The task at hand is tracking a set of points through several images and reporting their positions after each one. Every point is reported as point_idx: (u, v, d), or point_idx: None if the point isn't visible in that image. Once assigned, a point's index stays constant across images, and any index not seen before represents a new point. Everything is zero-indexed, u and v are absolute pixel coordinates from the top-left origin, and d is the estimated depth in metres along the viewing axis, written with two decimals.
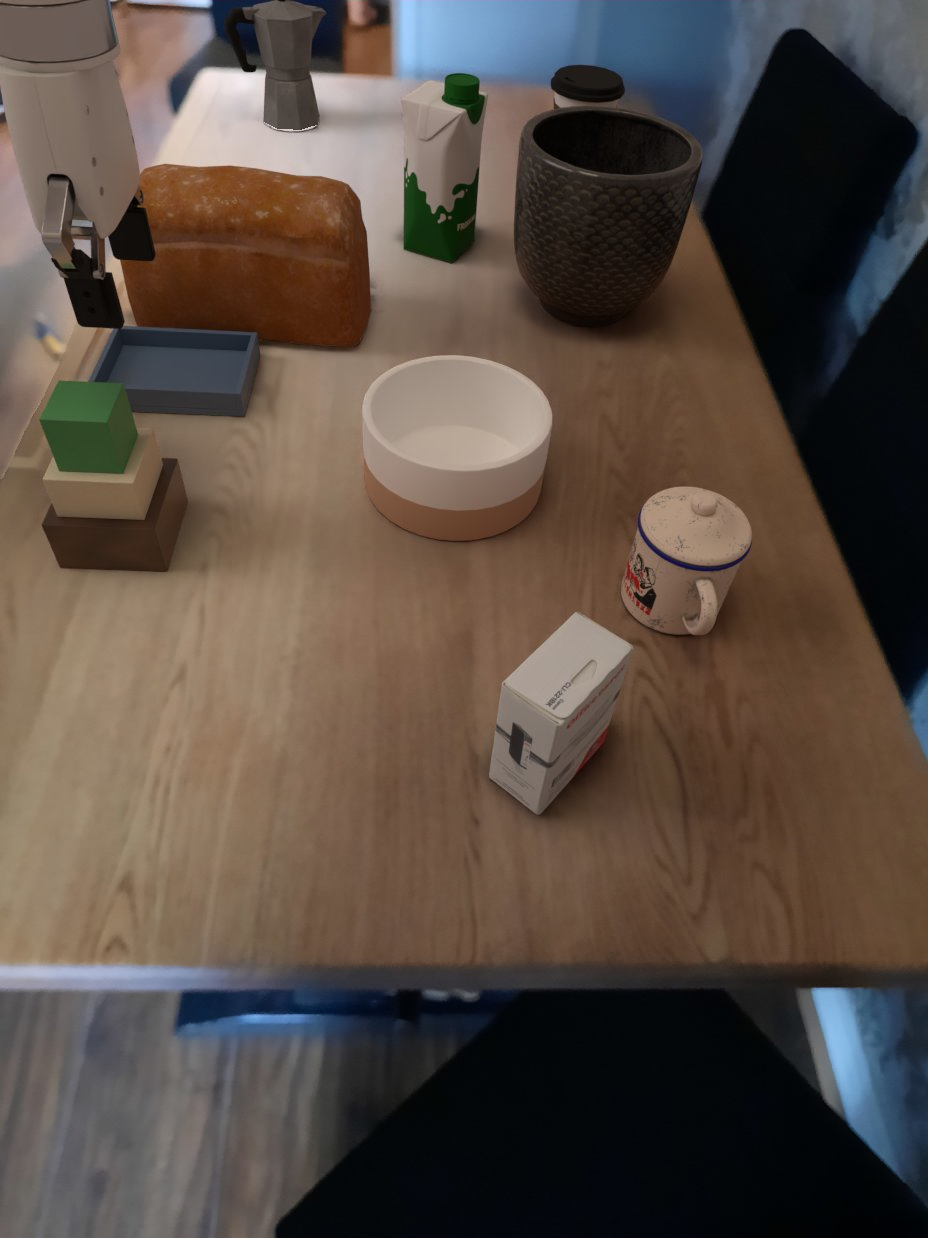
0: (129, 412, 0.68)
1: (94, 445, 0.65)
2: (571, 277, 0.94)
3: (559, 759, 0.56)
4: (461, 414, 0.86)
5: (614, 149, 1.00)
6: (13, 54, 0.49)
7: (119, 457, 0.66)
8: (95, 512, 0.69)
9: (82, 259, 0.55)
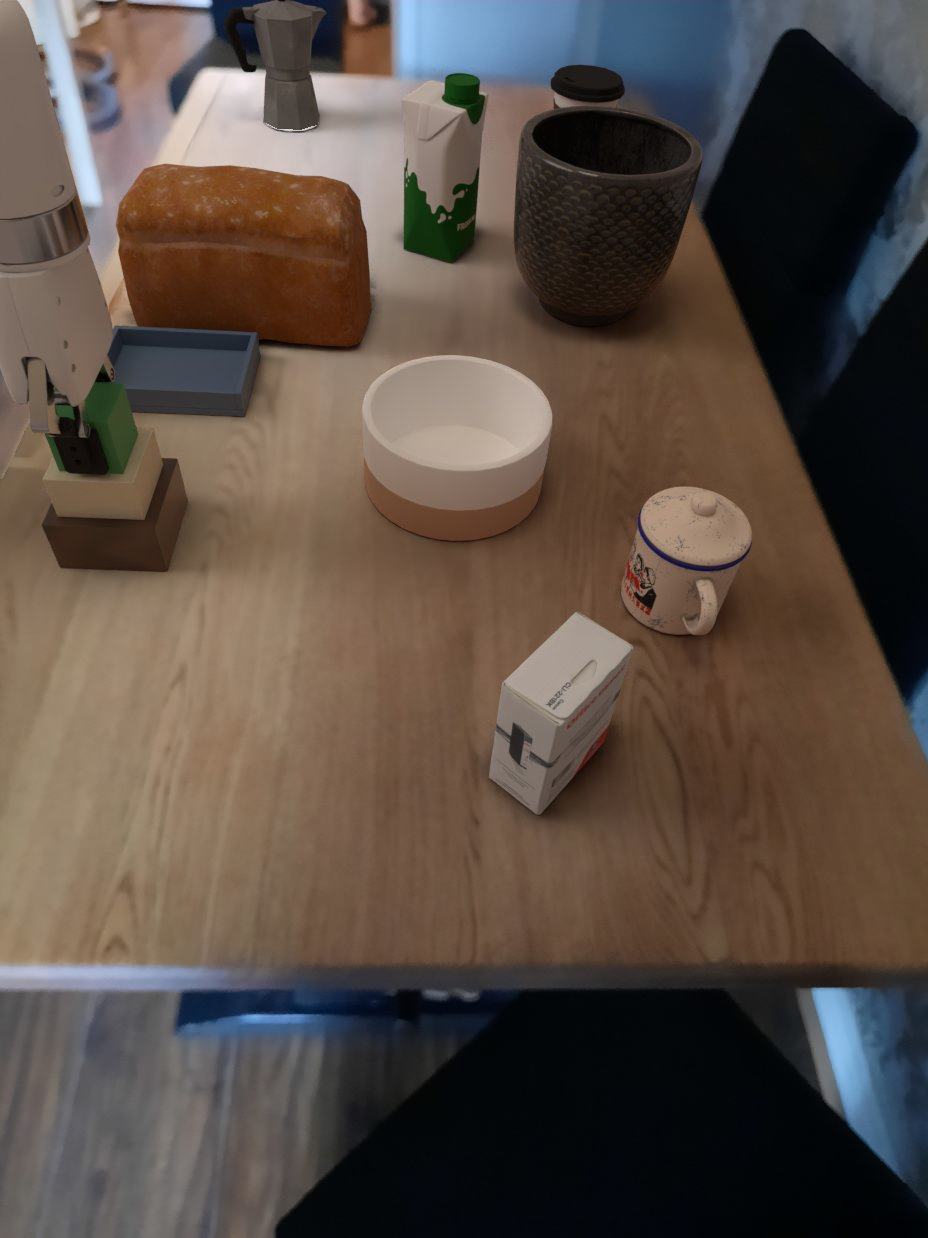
0: (129, 412, 0.68)
1: None
2: (571, 277, 0.94)
3: (559, 759, 0.56)
4: (461, 414, 0.86)
5: (614, 149, 1.00)
6: None
7: (119, 457, 0.66)
8: (95, 512, 0.69)
9: (68, 426, 0.61)
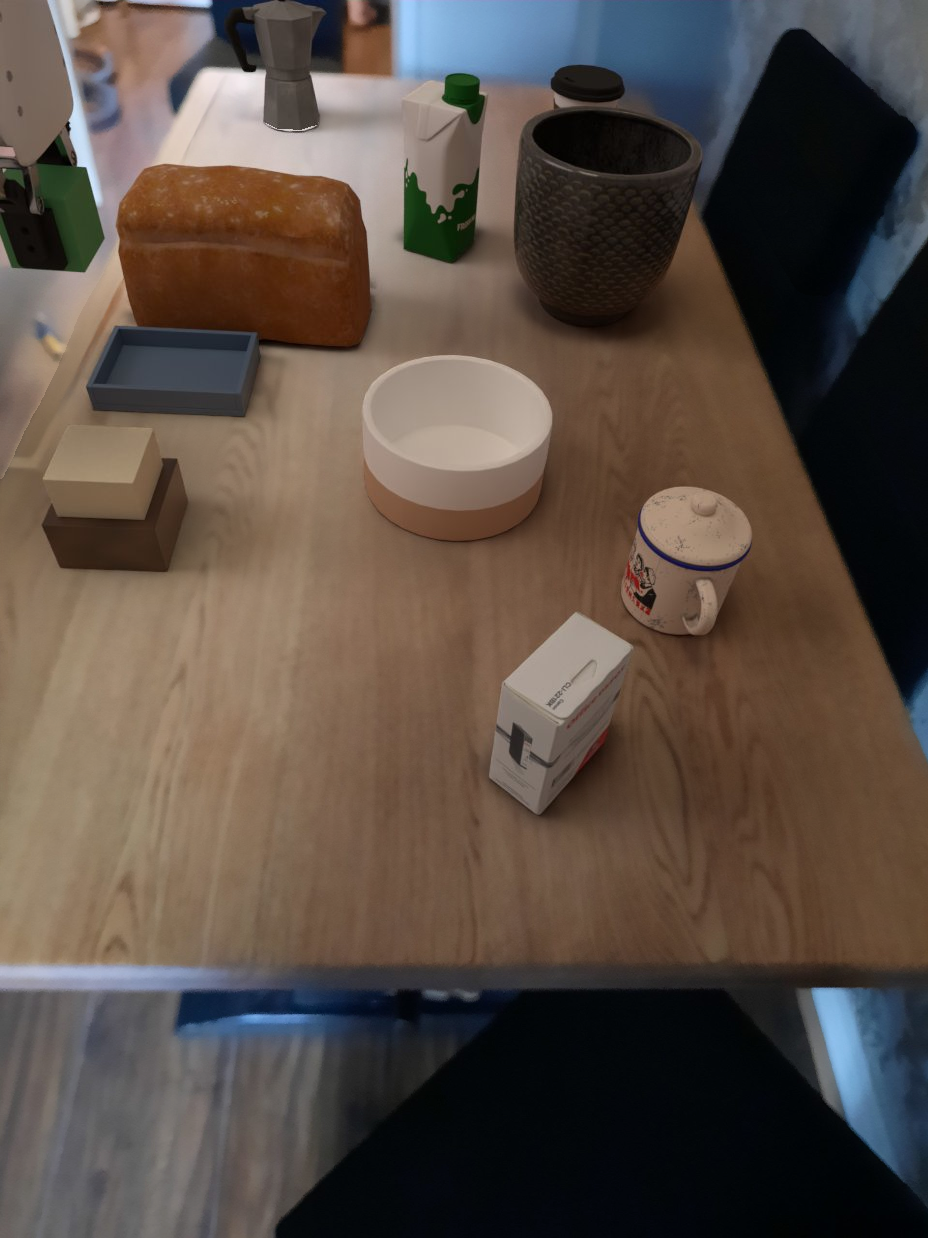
0: (93, 205, 0.60)
1: None
2: (571, 277, 0.94)
3: (559, 759, 0.56)
4: (461, 414, 0.86)
5: (614, 149, 1.00)
6: None
7: (80, 250, 0.58)
8: (95, 512, 0.69)
9: (16, 190, 0.52)
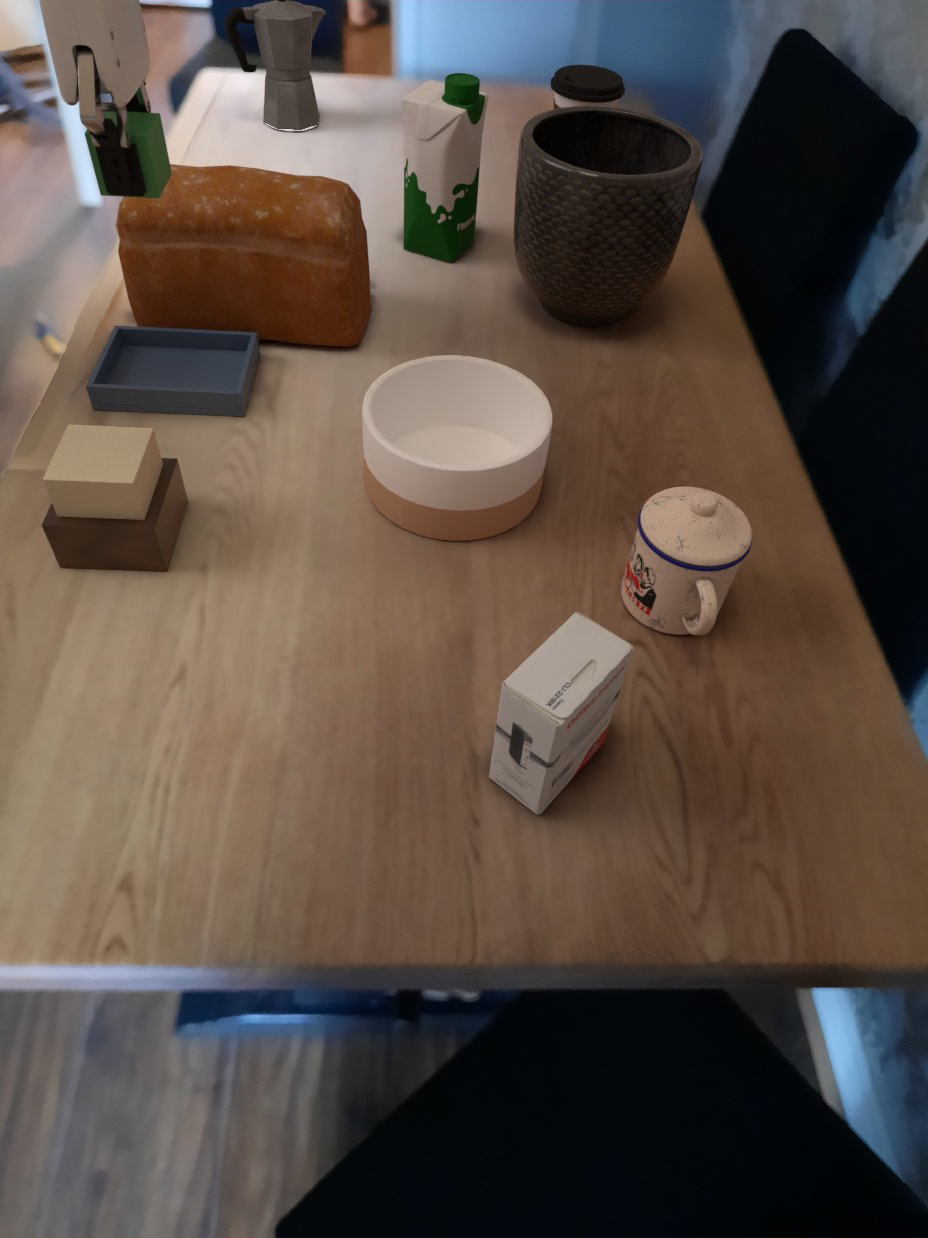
0: (164, 145, 0.74)
1: None
2: (571, 277, 0.94)
3: (559, 759, 0.56)
4: (461, 414, 0.86)
5: (614, 149, 1.00)
6: None
7: (156, 179, 0.73)
8: (95, 512, 0.69)
9: (112, 127, 0.67)
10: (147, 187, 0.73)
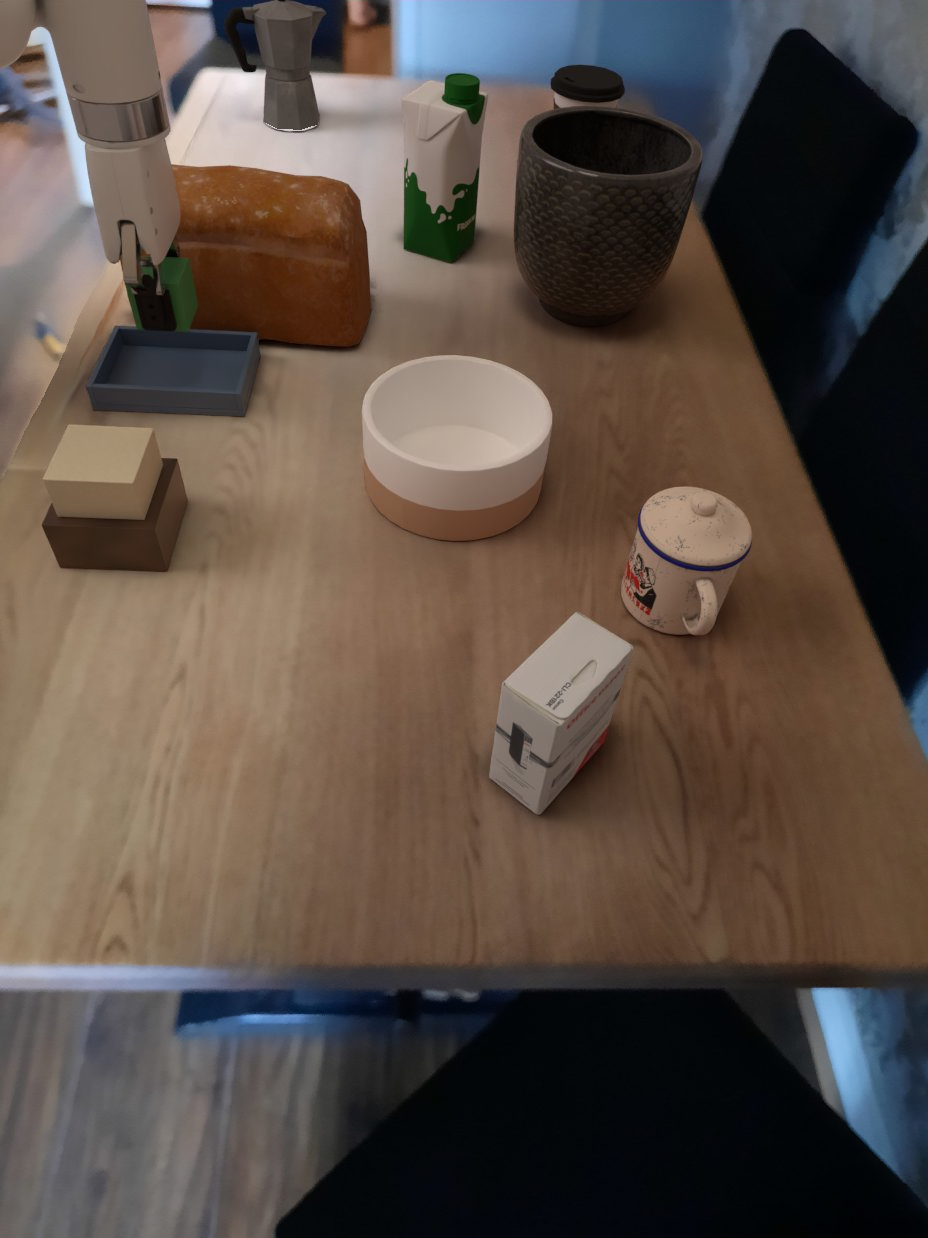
0: (192, 283, 0.84)
1: None
2: (571, 277, 0.94)
3: (559, 759, 0.56)
4: (461, 414, 0.86)
5: (614, 149, 1.00)
6: (96, 136, 0.69)
7: (186, 316, 0.83)
8: (95, 512, 0.69)
9: (150, 281, 0.77)
10: (178, 323, 0.83)
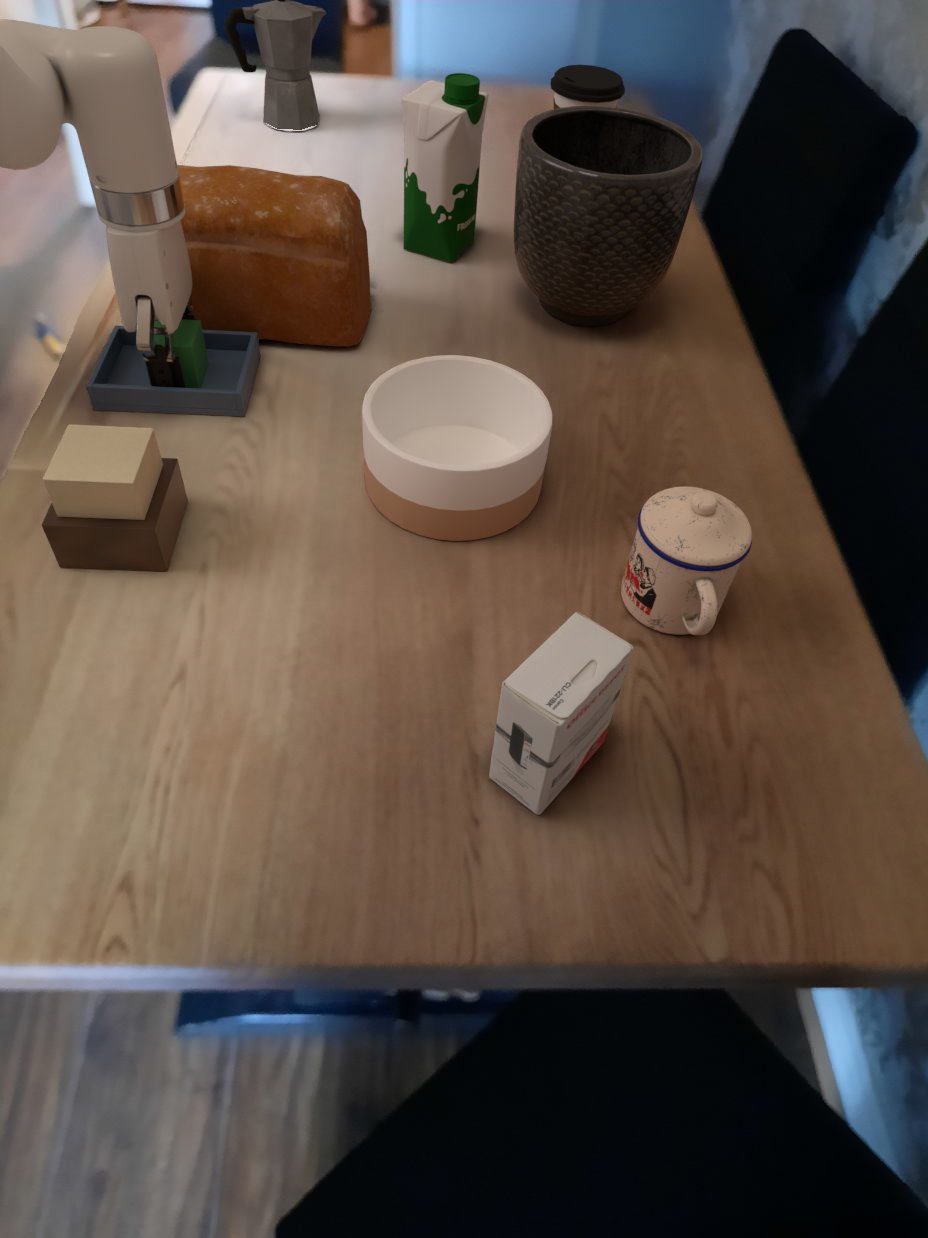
0: (203, 343, 0.89)
1: None
2: (571, 277, 0.94)
3: (559, 759, 0.56)
4: (461, 414, 0.86)
5: (614, 149, 1.00)
6: (117, 220, 0.74)
7: (197, 376, 0.88)
8: (95, 512, 0.69)
9: (161, 351, 0.81)
10: (190, 382, 0.88)
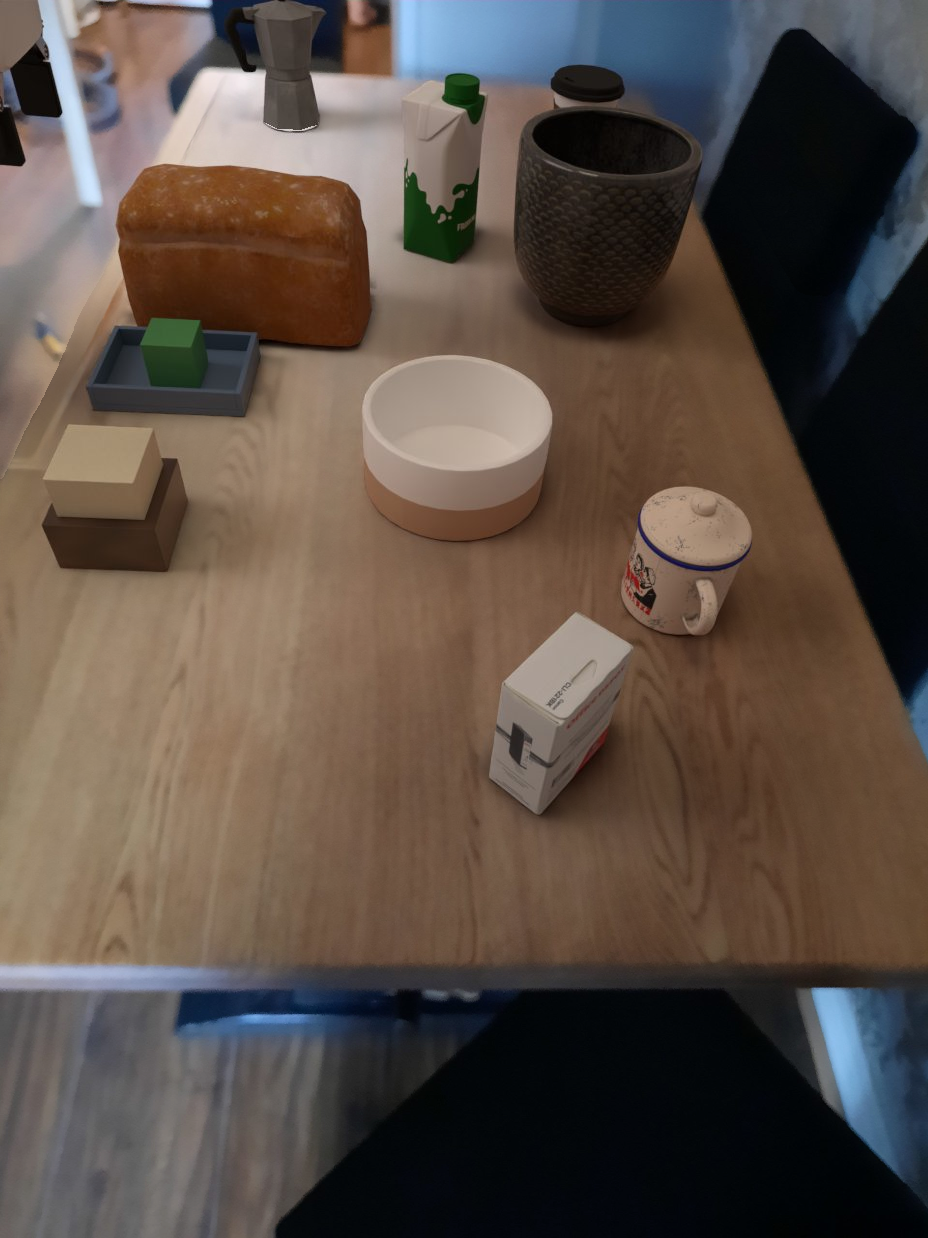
0: (203, 343, 0.89)
1: (179, 366, 0.86)
2: (571, 277, 0.94)
3: (559, 759, 0.56)
4: (461, 414, 0.86)
5: (614, 149, 1.00)
6: None
7: (197, 376, 0.88)
8: (95, 512, 0.69)
9: None
10: (190, 382, 0.88)
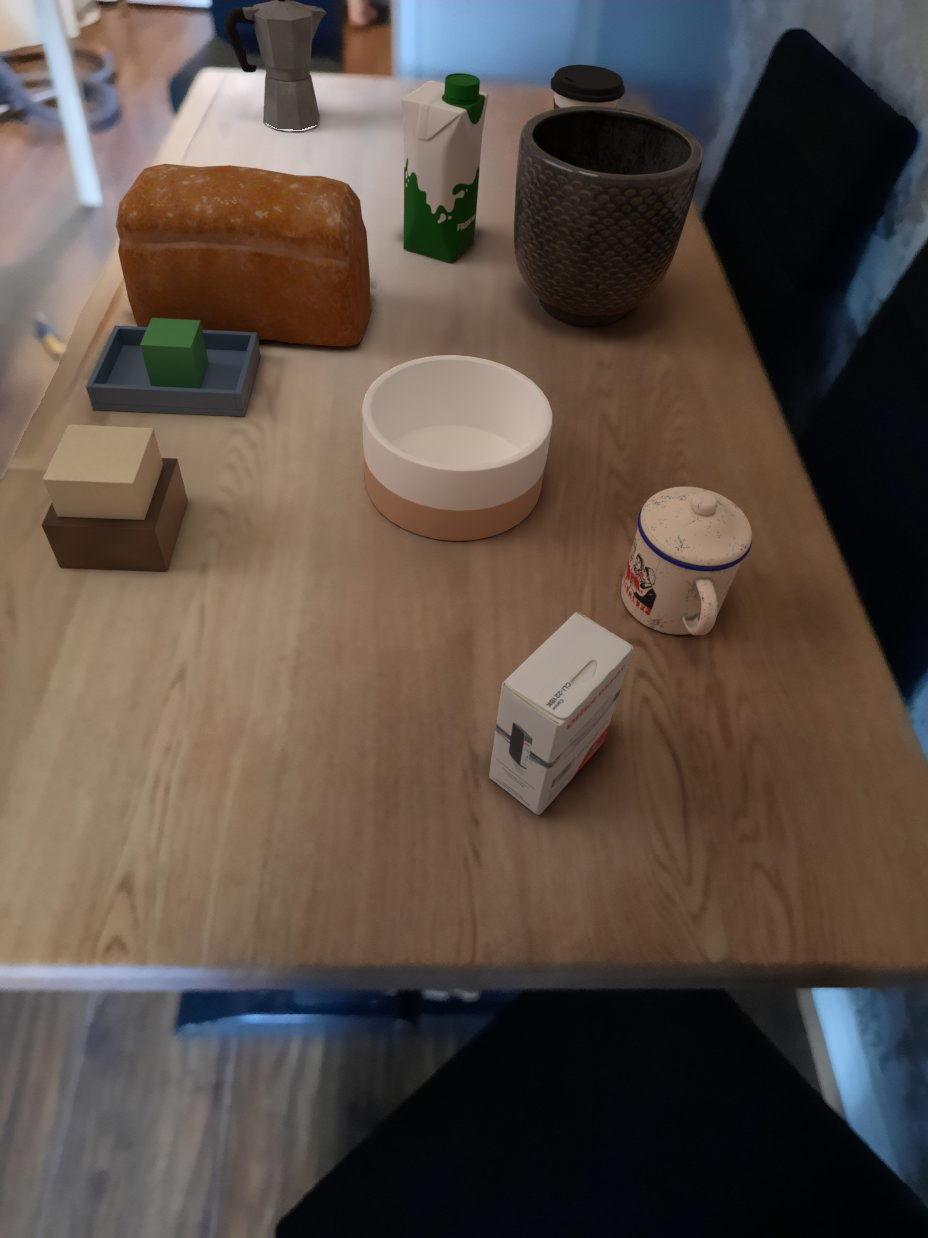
0: (203, 343, 0.89)
1: (179, 366, 0.86)
2: (571, 277, 0.94)
3: (559, 759, 0.56)
4: (461, 414, 0.86)
5: (614, 149, 1.00)
6: None
7: (197, 376, 0.88)
8: (95, 512, 0.69)
9: None
10: (190, 382, 0.88)
